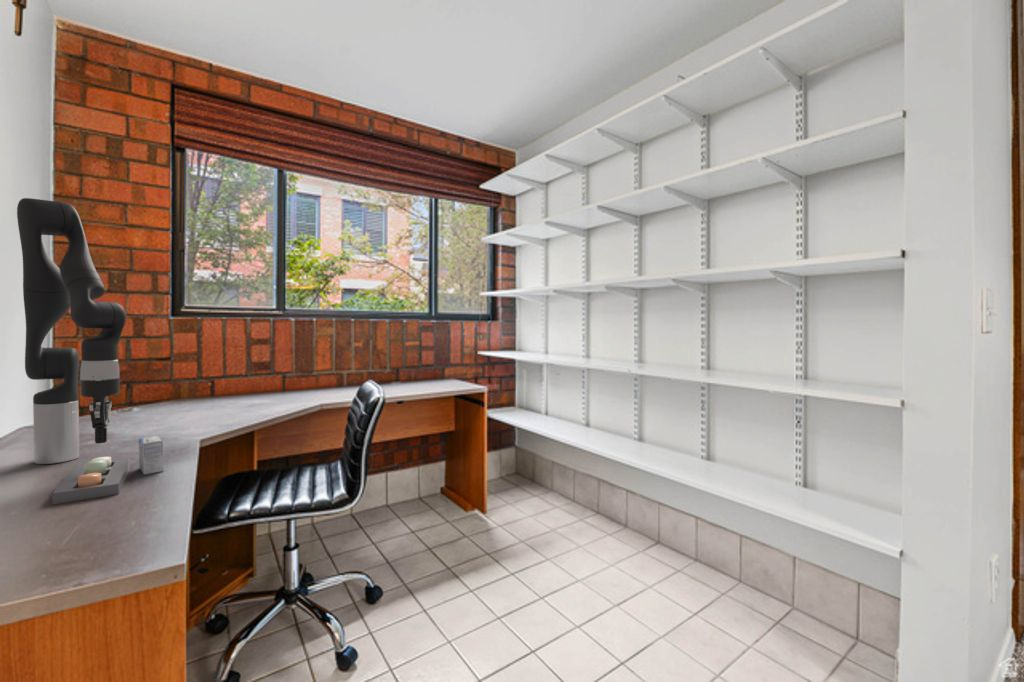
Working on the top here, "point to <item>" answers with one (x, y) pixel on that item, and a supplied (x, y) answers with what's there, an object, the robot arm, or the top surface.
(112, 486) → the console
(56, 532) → the top surface
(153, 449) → the medicine box
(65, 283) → the robot arm
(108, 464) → the ivory button
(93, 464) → the sage button
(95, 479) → the orange button
